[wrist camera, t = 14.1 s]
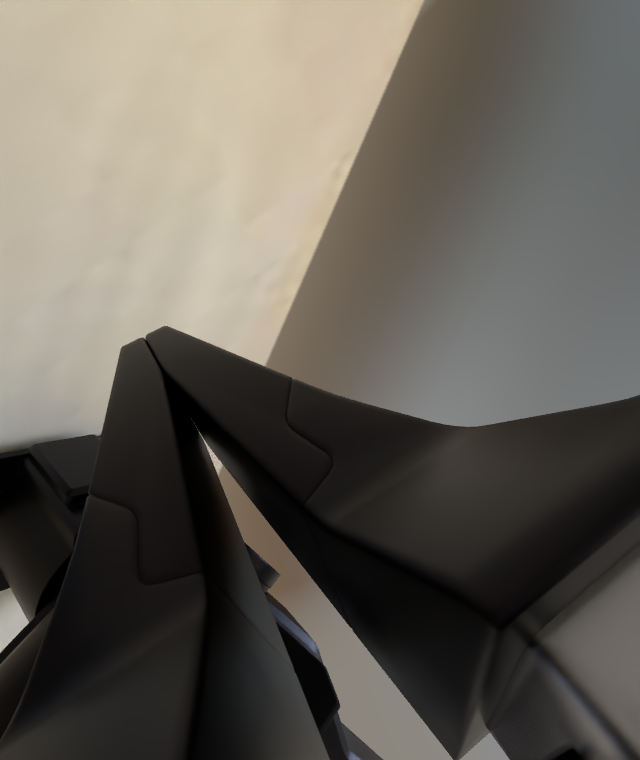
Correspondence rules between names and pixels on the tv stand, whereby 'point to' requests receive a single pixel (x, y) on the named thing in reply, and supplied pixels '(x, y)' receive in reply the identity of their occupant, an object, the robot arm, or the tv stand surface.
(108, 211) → the tv stand surface
